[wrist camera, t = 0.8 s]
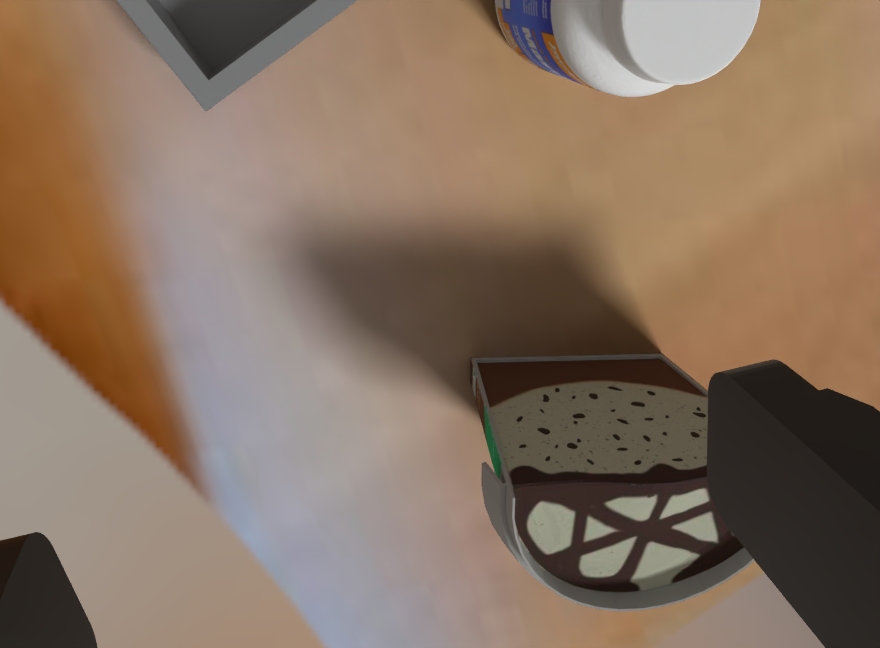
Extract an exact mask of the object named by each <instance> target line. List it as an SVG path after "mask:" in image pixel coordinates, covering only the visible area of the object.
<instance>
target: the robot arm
mask: <svg viewBox="0 0 880 648" xmlns="http://www.w3.org/2000/svg"><path fill="white" fill-rule="evenodd" d="M707 481H708V486H709V490H710V494H711V497H712V500H713V503H714V505H715V507H716V509H717V511H718V513H719V515H720V517H721V518H722V520H723V521H724V523H725V524H726V525H727V527H728V528H729V529H730V530H731V532H732V533H733V534H734V535H735V537H736V538H737V539H738V540H739V542H740V543H741V544H742V545H743V546H744V548H745V549H746V550H747V551H748V553H749V554H750V555H751V556H752V558H753V559H754V560H755V561H756V563H757V564H758V565H759V566H760V567H761V569H762V570H763V571H764V572H765V574H766V575H767V576H768V577H769V578H770V580H771V581H772V582H773V583H774V585H775V586H776V587H777V588H778V589H779V591H780V592H781V593H782V595H783V596H784V597H785V598H786V600H787V601H788V602H789V603H790V604H791V605H792V607H793V608H794V609H795V611H796V612H797V613H798V614H799V616H800V617H801V618H802V619H803V621H804V622H805V623H806V624H807V625H808V627H809V628H810V629H811V630H812V632H813V633H814V634H815V635H816V636H817V638H818V639H819V640H820V641H821V643H822V644H823V645H824V646H825V648H880V411H878V410H877V409H875V408H874V407H873V406H870V405H868V404H865V403H863V402H860V401H858V400H855V399H853V398H850V397H848V396H845V395H843V394H840V393H838V392H835V391H833V390H830V389H828V388H827V389H823V390H817V389H816V388H815V387H814V386H812V385H811V384H810V383H808V382H807V381H806V380H805V379H803V378H802V377H801V376H800V375H798V374H797V373H796V372H794V371H793V370H792V369H791V368H789V367H788V366H787V365H785V364H784V363H782V362H781V361H778V360H769V361H764V362H760V363H756V364H752V365H748V366H743V367H739V368H735V369H731V370H727V371H722V372H718V373H715V374H714V375H713V376H712V378H711V380H710V382H709V388H708V427H707ZM0 648H97V643H96V639H95V635H94V632H93V629H92V626H91V624H90V622H89V620H88V618H87V616H86V614H85V612H84V610H83V608H82V606H81V603H80V601H79V599H78V597H77V595H76V593H75V591H74V589H73V587H72V585H71V583H70V581H69V579H68V577H67V575H66V573H65V571H64V569H63V567H62V565H61V562H60V560H59V558H58V556H57V554H56V552H55V550H54V548H53V546H52V544H51V543H50V541H49V540H48V539H47V538H46V537H45V536H44V535H43V534H41V533H38V532H35V533H31V534H27V535H23V536H18V537H14V538H10V539H6V540H1V541H0Z"/></svg>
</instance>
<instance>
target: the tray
mask: <svg viewBox="0 0 880 648" xmlns="http://www.w3.org/2000/svg"><path fill="white" fill-rule="evenodd" d="M356 1H357V0H117V2H118V3H119V4H120V5H121V7H122V8H123V9H124V10H125V12H126V13H127V14H128V15H129V17H130V18H131V19H132V20H133V22H134V23H135V24H136V25H137V27H138V28H139V29H140V30H141V32H142V33H143V34H144V35H145V37H146V38H147V39H148V40H149V42H150V43H151V44H152V45H153V47H154V48H155V49H156V50H157V52H158V53H159V54H160V55H161V57H162V58H163V59H164V60H165V62H166V63H167V64H168V65H169V66H170V68H171V69H172V70H173V71H174V73H175V74H176V75H177V76H178V78H179V79H180V80H181V81H182V83H183V84H184V85H185V86H186V88H187V89H188V90H189V91H190V93H191V94H192V95H193V96H194V98H195V99H196V100H197V101H198V103H199V104H200V105H201V106H202V108H203V109H204V110H205V111H207V110H209V109H210V108H211V107H213V106H214V105H216V104H217V103H218V102H220V101H221V100H222V99H224V98H225V97H226V96H228V95H229V94H231V93H232V92H233V91H235V90H236V89H237V88H239V87H240V86H241V85H243V84H244V83H245V82H247V81H248V80H250V79H251V78H252V77H254V76H255V75H256V74H258V73H259V72H260V71H262V70H263V69H265V68H266V67H267V66H269V65H270V64H271V63H273V62H274V61H275V60H277V59H278V58H280V57H281V56H282V55H284V54H285V53H286V52H288V51H289V50H290V49H292V48H293V47H295V46H296V45H297V44H299V43H300V42H301V41H303V40H304V39H305V38H307V37H308V36H310V35H311V34H312V33H314V32H315V31H316V30H318V29H319V28H320V27H322V26H323V25H324V24H326V23H327V22H329V21H330V20H331V19H333V18H334V17H335V16H337V15H338V14H339V13H341V12H342V11H344V10H345V9H346V8H348V7H349V6H350V5H352V4H353V3H354V2H356Z"/></svg>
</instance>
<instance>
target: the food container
mask: <svg viewBox="0 0 880 648" xmlns="http://www.w3.org/2000/svg"><path fill="white" fill-rule="evenodd" d="M470 381H471V385H472V389H473V392H474V396H475V400H476V404H477V407H478V411H479V415H480V419H481V422H482V426H483V430H484V434H485V437H486V441H487V445H488V449H489V452H490V456H491V460H492V464H493V467H494V471H495V473H494V472H493V470H492V469H491V468H490V467H489V465H488V464H487V463H486V462H484V463H482V490H483V497H484V503H485V507H486V510H487V512H488V515H489V518H490V520H491V523H492V525H493V527H494V528H495V530H496V532H497V533H498V535H499V536H500V538H501V539H502V541H503V542H504V544H505V545H506V546H507V548H508V549H509V550H510V551H511V553H512V554H513V555H514V557H515V558H516V559H517V560H518V562H519V563H520V564H521V565H522V566H523V567H524V568H525V569H526V570H527V571H528V572H529V573H530V574H531V575H532V577H534V578H535V579H536V580H538V581H539V582H541V583H542V584H544V585H545V586H546V587H548V588H549V589H551V590H552V591H554V592H555V593H556V594H558V595H559V596H561V597H563V598H566V599H568V600H570V601H572V602H575V603H577V604H580V605H584V606H587V607H591V608H595V609H601V610H611V611H640V610H646V609H653V608H659V607H664V606H667V605H671V604H674V603H678V602H681V601H685V600H687V599H690V598H692V597H695V596H697V595H699V594H702V593H704V592H707V591H708V590H710V589H712V588H714V587H716V586H718V585H720V584H722V583H723V582H725V581H727V580H729V579H730V578H731V577H733V576H734V575H736V574H737V573H739V572H740V571H742V570H743V569H745V568H746V567H747V566H749V565H750V564H751V563H752V562H753V561H754V559H753V558H752V556H751V555H750V554H749V553H748V551H747V550H746V549H745V548H744V546H743V545H742V544H741V543H740V542H739V540H738V539H737V538H736V537H735V535H734V534H733V533H732V532H731V530H730V529H729V528H728V527H727V525H726V524H725V523H724V521H723V520H722V518H721V517H720V515H719V513H718V511H717V509H716V507H715V505H714V503H713V500H712V497H711V494H710V490H709V486H708V481H707V427H708V391H707V390H706V389H705V388H704V387H703V386H701V385H700V384H699V383H698V382H696V381H695V380H694V379H693V378H692V377H690V376H689V375H688V374H687V373H685V372H684V371H683V370H682V369H681V368H679V367H678V366H677V365H676V364H675V363H673V362H672V361H671V360H670V359H668V358H667V357H666V356H665V355H664V354H623V355H578V356H534V357H489V358H471V363H470Z"/></svg>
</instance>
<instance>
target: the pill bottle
mask: <svg viewBox="0 0 880 648" xmlns="http://www.w3.org/2000/svg"><path fill="white" fill-rule="evenodd" d="M495 8H496V14H497V19H498V22H499V25H500V28H501V31H502V33H503V35H504V37H505V38H506V40H507V42H508V43H509V45H510V46H511V47H512V48H513V50H514V51H515V52H516V53H517V54H518V55H519V56H521V57H522V58H523V59H524V60H526V61H527V62H529V63H530V64H532V65H534V66H536V67H538V68H540V69H543V70H545V71H548V72H550V73H553V74H556V75H559V76H561V77H564V78H567V79H570V80H572V81H575V82H577V83H580V84H583V85H585V86H588V87H590V88H593V89H596V90H598V91H602V92H606V93H609V94H613V95H618V96H625V97H639V96H646V95H651V94H655V93H658V92H661V91H663V90H666V89H668V88H670V87H672V86H674V85H684V84H692V83H695V82H699V81H702V80H704V79H707V78H709V77H711V76H713V75H715V74H717V73H718V72H719V71H720V70H722V69H723V68H725V67H726V66H727V65H728V64H729V63H730V62H731V61H732V60H733V59H734V58H735V57H736V56H737V54H738V53H739V52H740V51H741V50H742V48H743V47H744V45H745V43H746V42H747V40H748V38H749V36H750V35H751V33H752V30H753V28H754V25H755V23H756V20H757V16H758V13H759V8H760V0H495Z"/></svg>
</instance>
